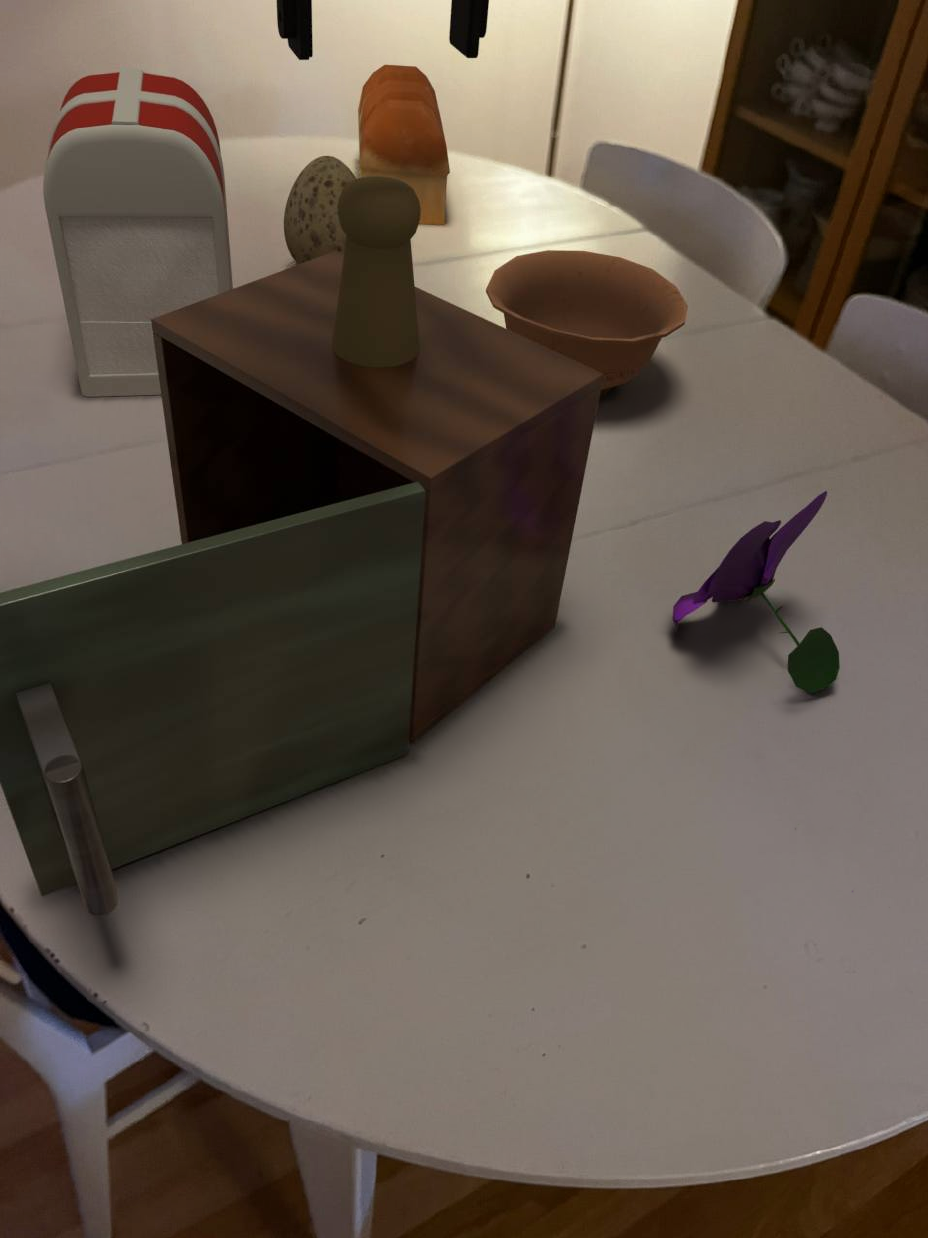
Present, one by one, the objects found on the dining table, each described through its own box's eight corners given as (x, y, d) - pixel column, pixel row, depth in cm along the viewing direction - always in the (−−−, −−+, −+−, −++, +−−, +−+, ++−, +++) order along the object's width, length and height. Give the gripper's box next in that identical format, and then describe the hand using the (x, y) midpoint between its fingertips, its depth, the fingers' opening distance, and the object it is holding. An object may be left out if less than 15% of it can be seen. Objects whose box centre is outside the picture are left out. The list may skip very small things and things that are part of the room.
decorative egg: (353, 302, 127) (354, 178, 117) (272, 285, 129) (266, 162, 118) (380, 268, 135) (384, 150, 125) (304, 253, 136) (301, 135, 126)
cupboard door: (455, 823, 71) (487, 559, 54) (71, 989, 60) (-29, 721, 44) (402, 744, 75) (417, 480, 59) (37, 885, 65) (-64, 608, 48)
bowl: (445, 395, 113) (452, 301, 105) (521, 317, 128) (532, 231, 120) (634, 454, 107) (656, 360, 99) (690, 366, 122) (713, 278, 115)
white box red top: (79, 397, 106) (24, 122, 88) (90, 318, 119) (44, 63, 101) (240, 392, 110) (220, 126, 91) (235, 315, 122) (216, 68, 104)
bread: (446, 225, 147) (453, 116, 137) (359, 222, 146) (360, 111, 136) (435, 163, 165) (440, 63, 155) (357, 159, 164) (358, 58, 154)
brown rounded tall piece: (365, 376, 67) (368, 208, 60) (314, 338, 70) (311, 174, 63) (437, 352, 70) (448, 190, 63) (385, 317, 73) (390, 159, 66)
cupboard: (411, 745, 76) (430, 478, 59) (186, 581, 87) (150, 318, 71) (555, 627, 86) (604, 373, 70) (338, 494, 98) (337, 249, 81)
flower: (821, 677, 92) (733, 554, 94) (951, 611, 79) (847, 471, 81) (721, 754, 84) (628, 619, 86) (848, 695, 71) (736, 538, 73)
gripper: (215, -389, 41) (243, 74, 53) (599, -343, 46) (548, 70, 58) (186, -388, 46) (218, 34, 58) (536, -347, 51) (500, 33, 63)
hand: (383, 52), depth 58 cm, fingers open, 9 cm apart
